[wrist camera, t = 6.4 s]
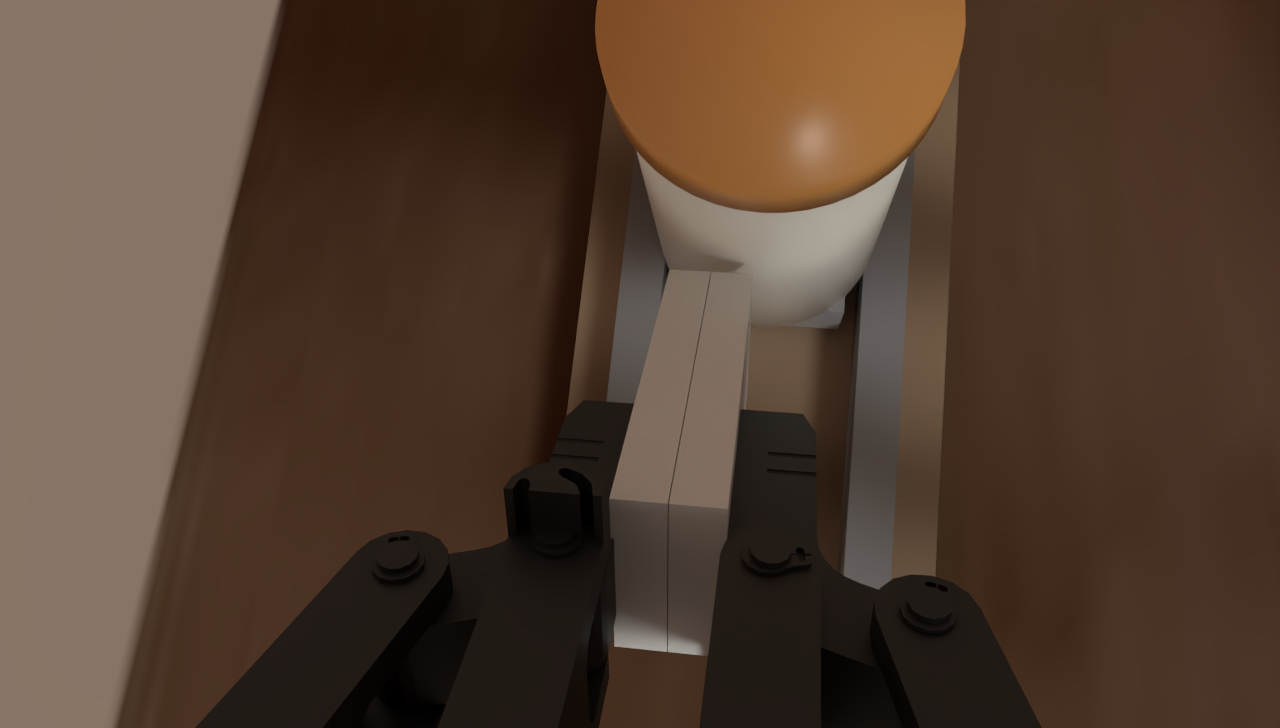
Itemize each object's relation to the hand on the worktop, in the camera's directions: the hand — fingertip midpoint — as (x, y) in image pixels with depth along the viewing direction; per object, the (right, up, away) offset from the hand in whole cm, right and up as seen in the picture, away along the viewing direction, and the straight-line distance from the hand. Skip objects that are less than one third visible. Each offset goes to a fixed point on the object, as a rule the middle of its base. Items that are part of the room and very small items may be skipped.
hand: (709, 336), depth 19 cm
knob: (+2, +2, +6) cm, 7 cm away
